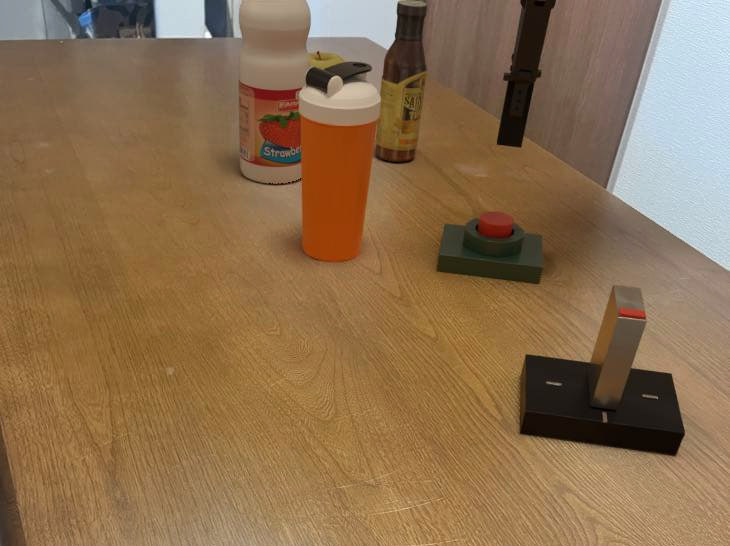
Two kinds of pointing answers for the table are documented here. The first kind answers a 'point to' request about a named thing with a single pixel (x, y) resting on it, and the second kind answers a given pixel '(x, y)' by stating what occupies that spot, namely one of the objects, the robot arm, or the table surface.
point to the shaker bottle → (336, 158)
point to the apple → (324, 60)
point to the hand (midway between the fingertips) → (509, 143)
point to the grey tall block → (616, 346)
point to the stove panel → (597, 425)
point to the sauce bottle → (402, 86)
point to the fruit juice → (272, 87)
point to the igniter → (491, 254)
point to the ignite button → (495, 224)
